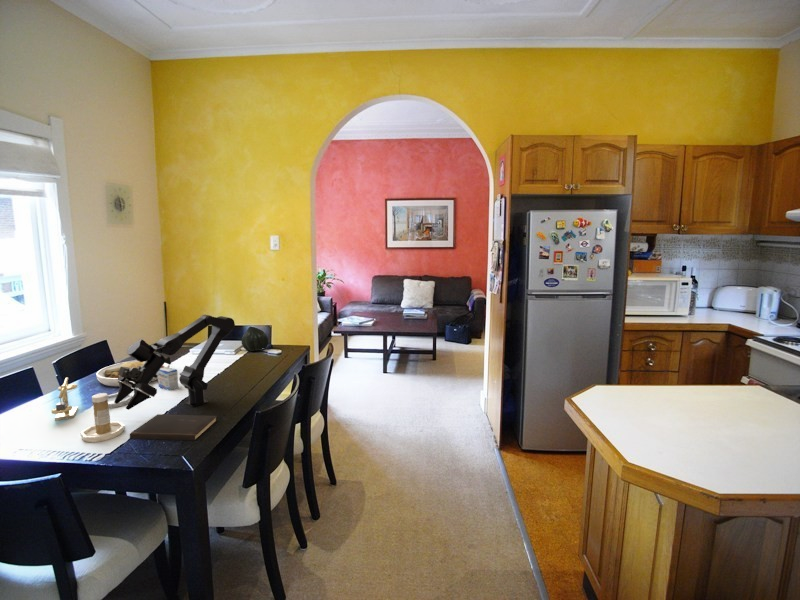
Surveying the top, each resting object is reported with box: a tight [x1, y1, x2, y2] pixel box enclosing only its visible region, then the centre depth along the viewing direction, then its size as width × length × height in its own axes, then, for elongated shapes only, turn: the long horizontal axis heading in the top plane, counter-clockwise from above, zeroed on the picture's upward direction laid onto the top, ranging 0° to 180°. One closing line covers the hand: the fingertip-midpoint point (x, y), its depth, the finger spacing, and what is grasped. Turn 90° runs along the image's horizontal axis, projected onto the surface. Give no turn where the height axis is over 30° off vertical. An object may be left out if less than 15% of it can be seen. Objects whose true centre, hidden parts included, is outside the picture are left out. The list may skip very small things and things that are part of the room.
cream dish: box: [80, 421, 125, 443], centre depth 151 cm, size 12×12×2 cm
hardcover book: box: [129, 413, 218, 441], centre depth 155 cm, size 16×23×2 cm
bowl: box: [95, 359, 170, 388], centre depth 209 cm, size 30×30×8 cm
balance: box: [51, 377, 79, 422], centre depth 166 cm, size 19×6×13 cm, turn 27°
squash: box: [241, 326, 269, 352], centre depth 258 cm, size 14×15×15 cm
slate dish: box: [108, 392, 133, 409], centre depth 178 cm, size 12×12×2 cm
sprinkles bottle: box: [91, 392, 111, 434], centre depth 150 cm, size 5×5×14 cm
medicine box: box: [157, 367, 179, 391], centre depth 196 cm, size 8×4×9 cm, turn 62°
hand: (121, 406), depth 155 cm, fingers open, 9 cm apart
